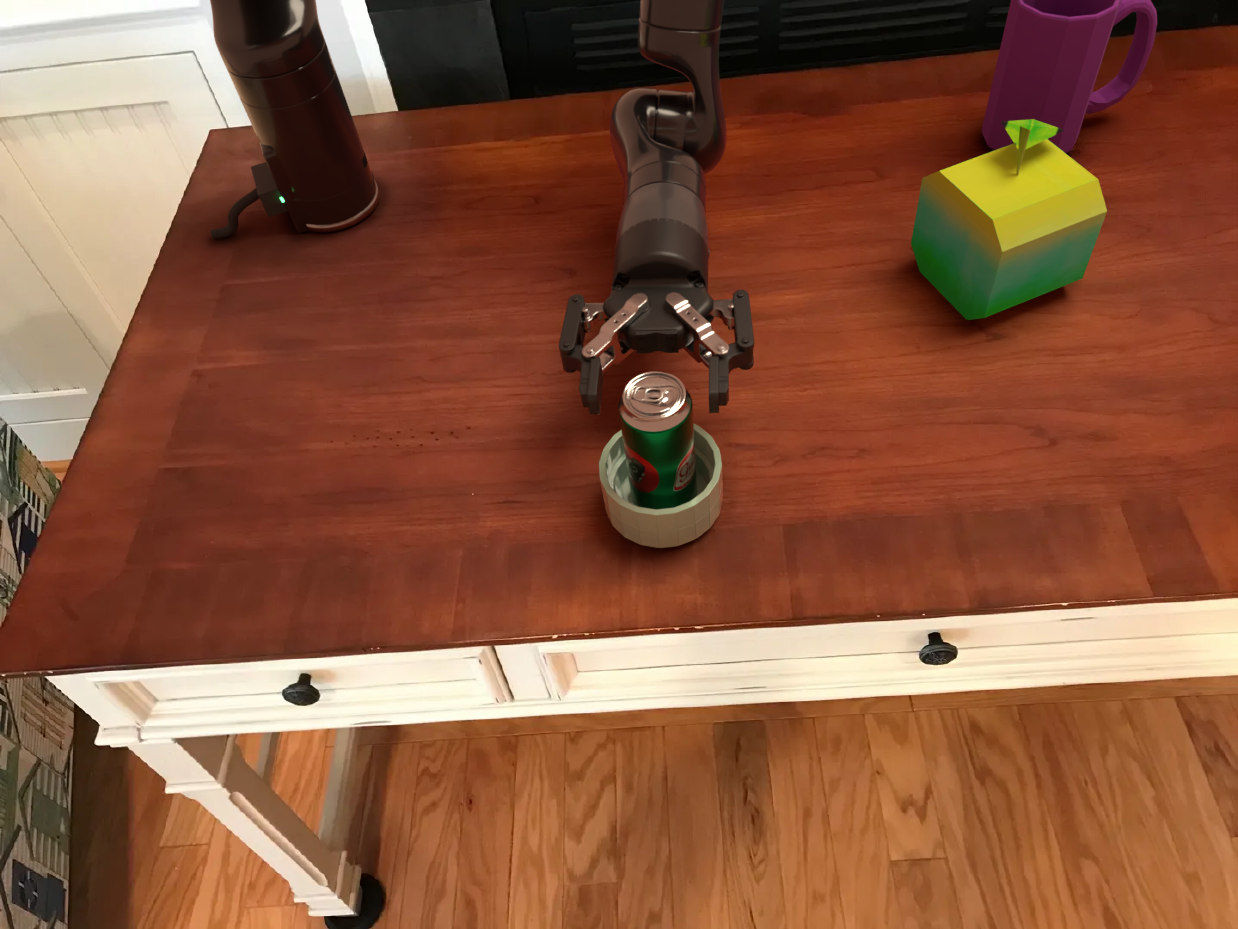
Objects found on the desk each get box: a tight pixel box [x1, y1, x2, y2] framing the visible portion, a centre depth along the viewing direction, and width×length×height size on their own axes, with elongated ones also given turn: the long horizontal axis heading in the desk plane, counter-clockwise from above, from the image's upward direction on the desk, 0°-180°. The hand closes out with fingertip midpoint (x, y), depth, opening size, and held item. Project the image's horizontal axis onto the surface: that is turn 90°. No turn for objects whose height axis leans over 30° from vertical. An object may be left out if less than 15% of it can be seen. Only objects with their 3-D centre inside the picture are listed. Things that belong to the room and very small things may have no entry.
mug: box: [981, 0, 1158, 154], centre depth 93 cm, size 9×16×15 cm, turn 106°
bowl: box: [598, 423, 724, 549], centre depth 74 cm, size 9×9×5 cm
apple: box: [910, 119, 1108, 321], centre depth 82 cm, size 11×10×15 cm
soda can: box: [618, 370, 697, 510], centre depth 71 cm, size 5×5×12 cm
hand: (653, 406), depth 69 cm, fingers open, 8 cm apart
